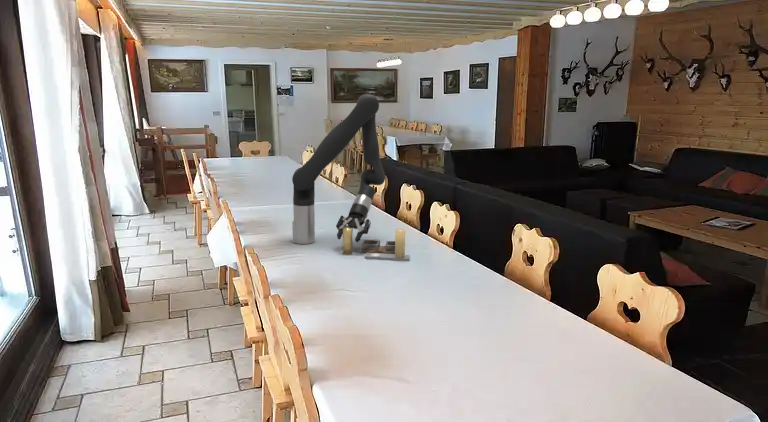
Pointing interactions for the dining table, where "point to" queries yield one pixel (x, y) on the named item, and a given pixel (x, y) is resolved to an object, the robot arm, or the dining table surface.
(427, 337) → the dining table surface
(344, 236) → the brass pin
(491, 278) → the dining table surface
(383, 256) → the plate
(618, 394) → the dining table surface
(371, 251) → the double bowl tray
